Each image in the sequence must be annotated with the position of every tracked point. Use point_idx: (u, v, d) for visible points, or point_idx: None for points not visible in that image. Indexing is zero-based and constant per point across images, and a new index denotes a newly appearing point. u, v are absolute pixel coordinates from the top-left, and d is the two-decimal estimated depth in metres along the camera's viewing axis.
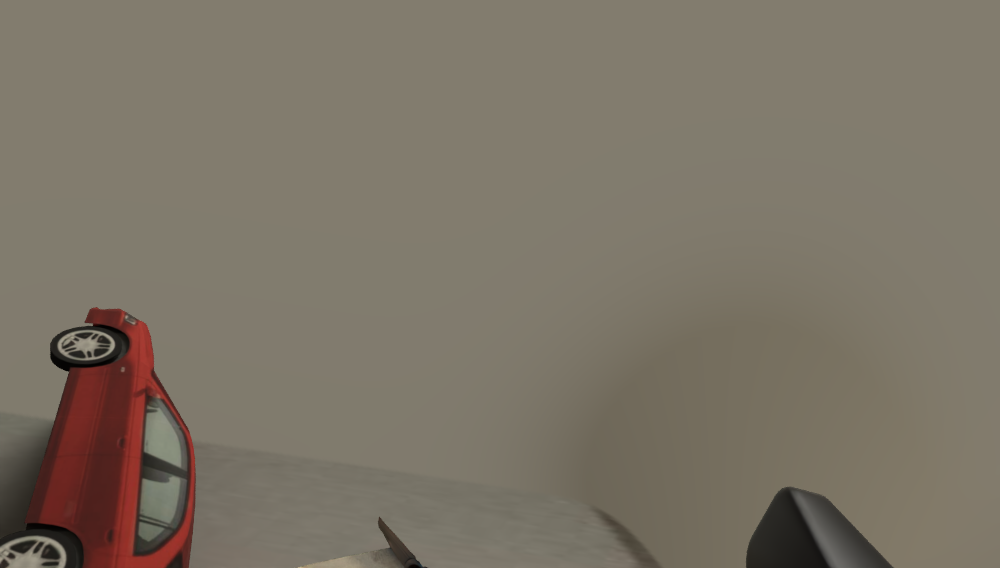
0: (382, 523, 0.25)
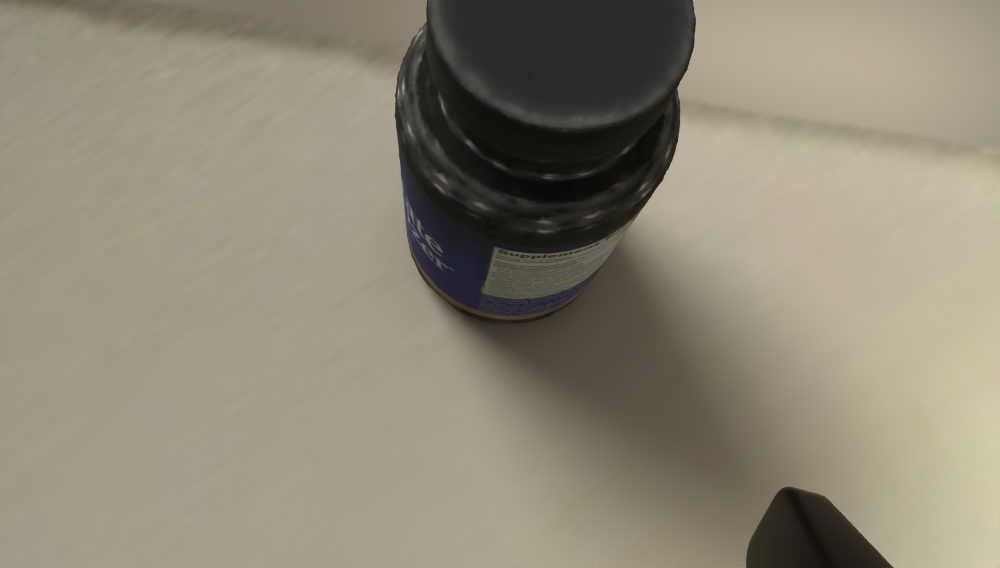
0: None
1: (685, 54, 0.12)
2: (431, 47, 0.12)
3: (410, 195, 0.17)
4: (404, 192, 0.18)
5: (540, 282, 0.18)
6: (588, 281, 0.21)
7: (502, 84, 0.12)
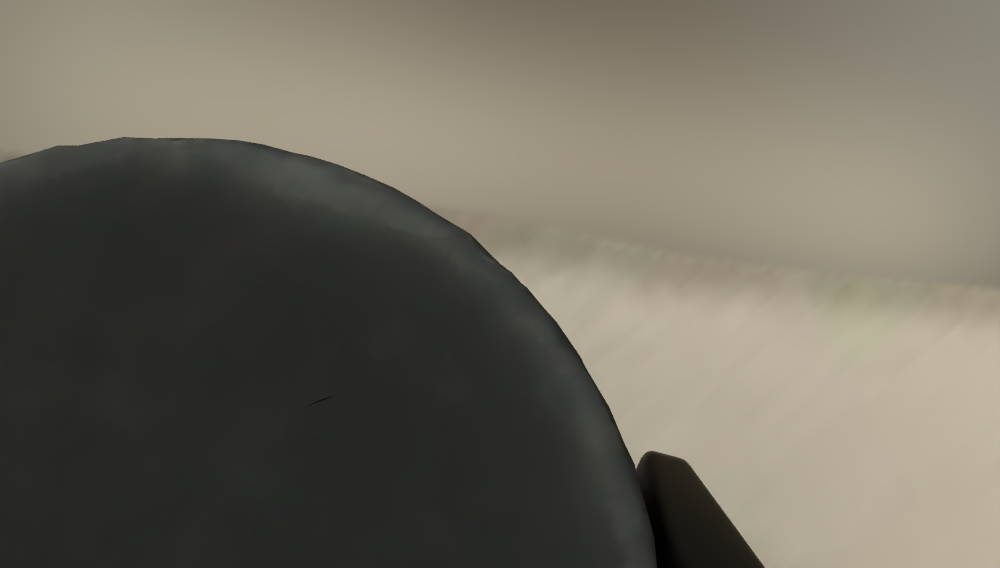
0: None
1: None
2: None
3: None
4: None
5: None
6: None
7: None
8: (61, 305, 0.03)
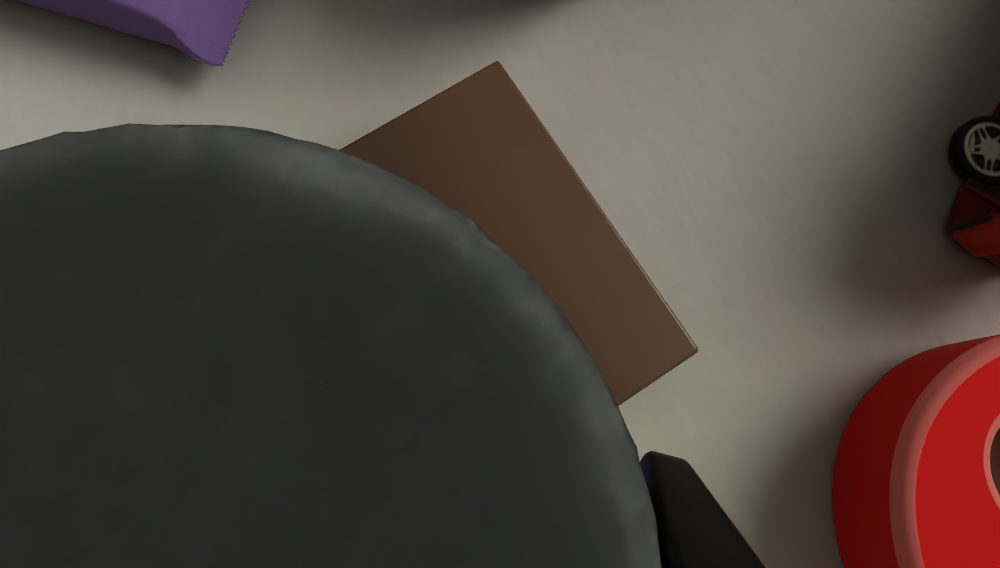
0: None
1: None
2: None
3: None
4: None
5: None
6: None
7: None
8: (70, 290, 0.03)
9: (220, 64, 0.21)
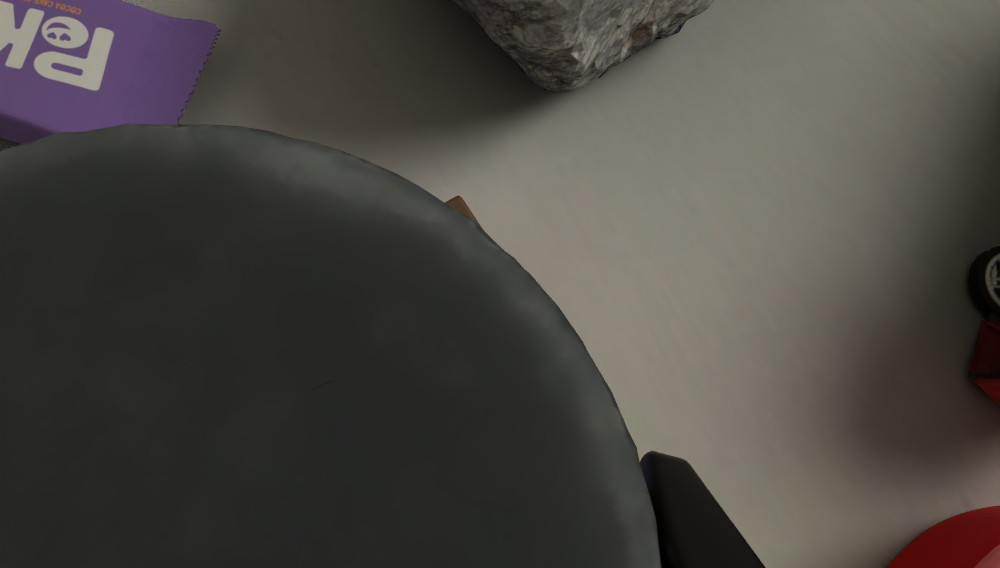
0: None
1: None
2: None
3: None
4: None
5: None
6: None
7: None
8: (68, 292, 0.03)
9: None
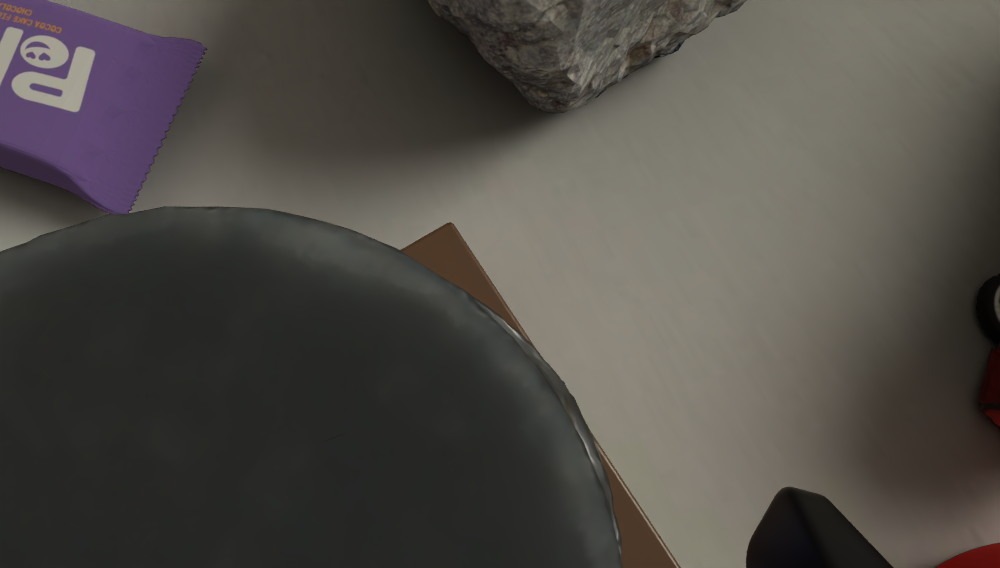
0: None
1: None
2: None
3: None
4: None
5: None
6: None
7: None
8: (115, 356, 0.04)
9: (126, 213, 0.18)
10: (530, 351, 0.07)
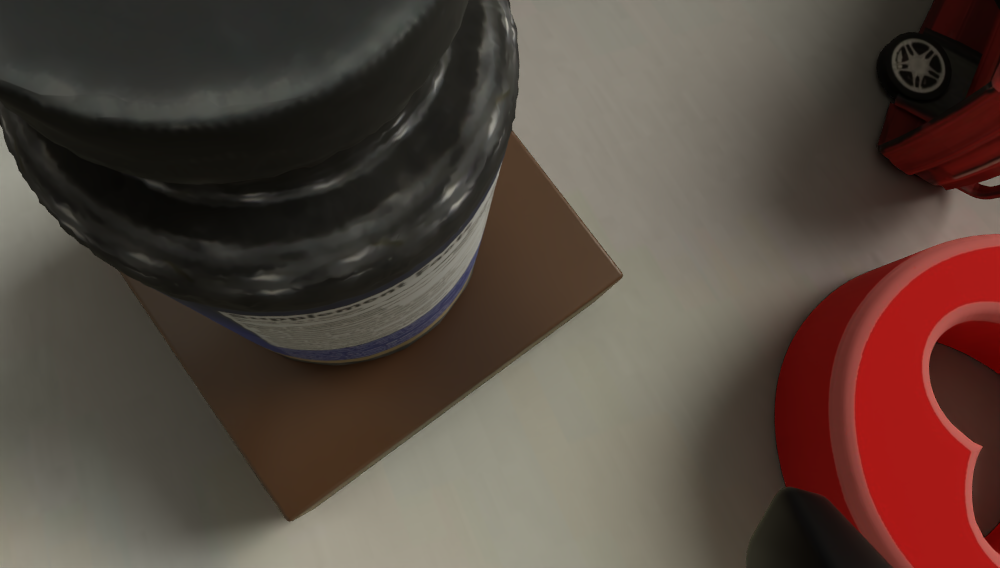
0: None
1: None
2: None
3: None
4: None
5: (344, 335, 0.11)
6: (448, 302, 0.14)
7: (26, 29, 0.05)
8: None
9: None
10: None
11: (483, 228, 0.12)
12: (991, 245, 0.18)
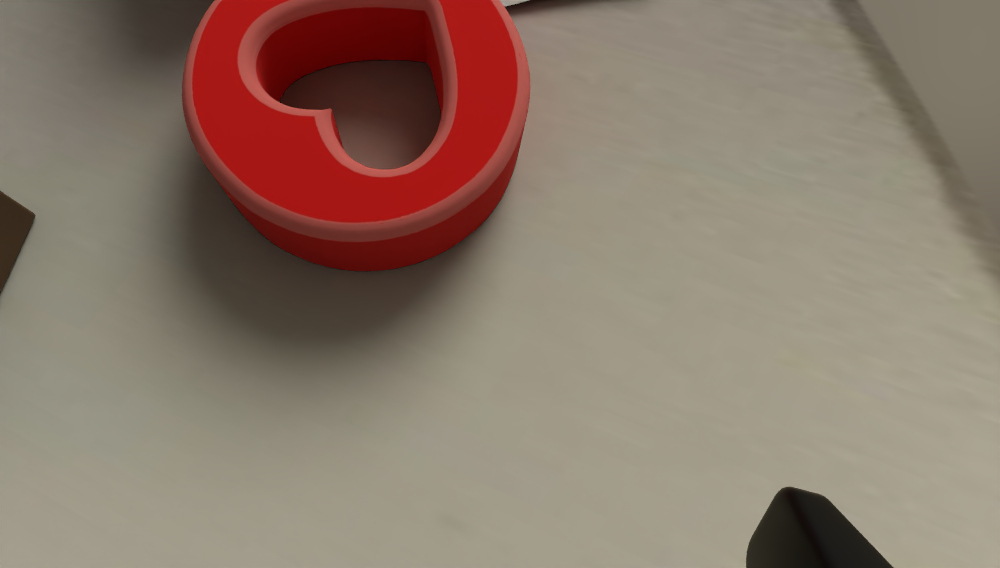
0: None
1: None
2: None
3: None
4: None
5: None
6: None
7: None
8: None
9: None
10: None
11: None
12: None
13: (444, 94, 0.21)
